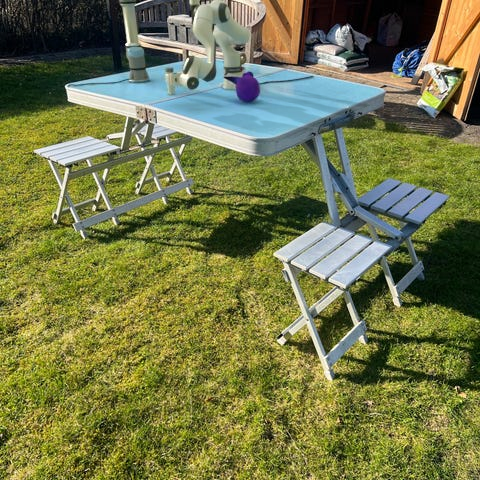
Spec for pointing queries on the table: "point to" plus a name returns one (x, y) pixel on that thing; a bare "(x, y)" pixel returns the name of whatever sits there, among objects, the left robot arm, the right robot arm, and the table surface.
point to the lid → (169, 69)
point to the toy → (246, 86)
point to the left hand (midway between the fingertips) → (196, 35)
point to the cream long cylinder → (170, 86)
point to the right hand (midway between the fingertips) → (178, 74)
